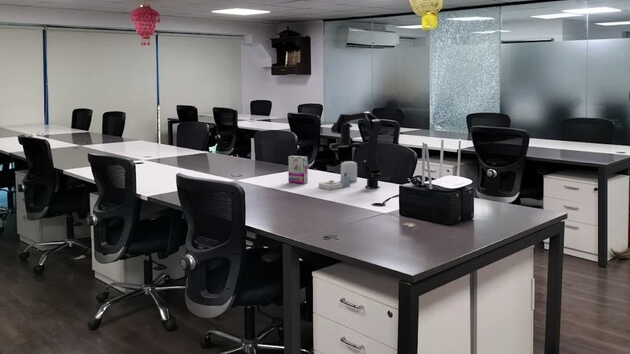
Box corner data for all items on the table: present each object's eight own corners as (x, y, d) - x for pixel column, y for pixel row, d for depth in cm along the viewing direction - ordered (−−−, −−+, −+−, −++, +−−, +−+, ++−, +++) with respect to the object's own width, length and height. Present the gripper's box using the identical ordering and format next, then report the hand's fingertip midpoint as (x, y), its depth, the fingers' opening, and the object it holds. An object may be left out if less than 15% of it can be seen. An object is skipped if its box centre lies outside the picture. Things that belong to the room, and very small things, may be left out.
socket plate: (342, 187, 342) (342, 182, 342) (327, 189, 337) (328, 184, 337) (332, 185, 351) (332, 180, 350) (318, 186, 346) (318, 181, 345)
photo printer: (356, 180, 367) (356, 160, 365) (357, 181, 363) (357, 161, 361) (339, 180, 366) (340, 161, 363) (341, 182, 361) (341, 162, 359)
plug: (350, 186, 348) (350, 173, 346) (344, 186, 346) (344, 173, 344) (346, 185, 351) (346, 172, 350) (340, 185, 349) (340, 172, 348)
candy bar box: (308, 183, 357) (308, 156, 354) (304, 184, 353) (304, 157, 350) (292, 181, 362) (292, 155, 359) (288, 182, 358) (287, 156, 355)
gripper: (357, 133, 367) (357, 157, 370) (327, 133, 364) (328, 158, 367) (361, 134, 356) (361, 160, 359) (331, 135, 353) (331, 161, 356)
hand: (345, 159), depth 360 cm, fingers open, 9 cm apart
